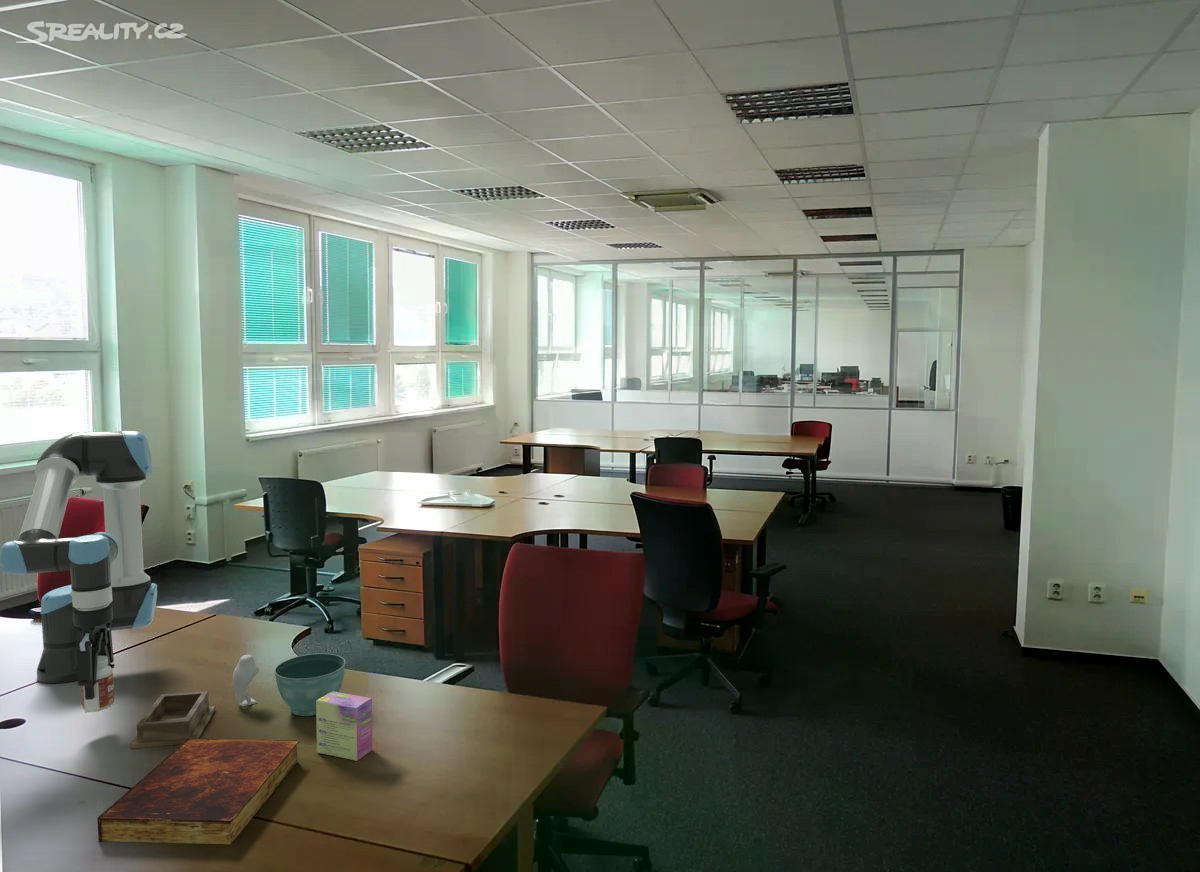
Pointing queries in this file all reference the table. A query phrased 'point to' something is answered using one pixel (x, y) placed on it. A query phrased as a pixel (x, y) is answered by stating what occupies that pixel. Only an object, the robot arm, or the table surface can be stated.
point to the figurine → (244, 679)
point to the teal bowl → (309, 680)
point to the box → (344, 725)
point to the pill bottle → (103, 684)
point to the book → (200, 792)
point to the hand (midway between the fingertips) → (98, 704)
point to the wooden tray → (174, 719)
